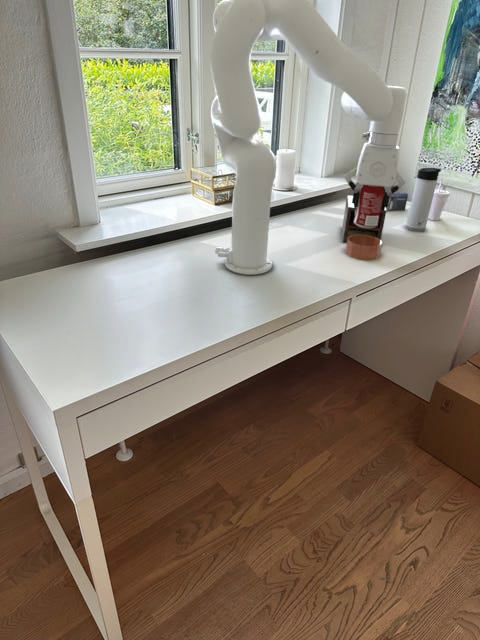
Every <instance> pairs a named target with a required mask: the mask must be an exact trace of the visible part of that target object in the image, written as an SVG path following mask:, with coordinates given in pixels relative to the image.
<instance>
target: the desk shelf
mask: <svg viewBox="0 0 480 640" xmlns="http://www.w3.org/2000/svg"><path fill="white" fill-rule="evenodd" d="M352 199H353V195H348V194H347V195H346V201H345V208H344V214H343V219H342V229H341V230H342V233H341V235H342V243H346V244H347V238H348V234H349V231H358V232H368V233H369V232H370V233H373V237H377V238H378V239H380V240H381V241H382V235H383V231H384V225H385V220H386V214H387V211H386V207H385V210H384V211H383V210H382V209H381V213H380V218H379V223H378V226H376V227H374V228H369V229H368V228H361V227H359V226H357V225H356V224H355V223H354V217H355V211H356V208H354V204H353V203H352Z"/></svg>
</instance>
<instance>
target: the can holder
mask: <svg viewBox="0 0 480 640" xmlns="http://www.w3.org/2000/svg"><path fill="white" fill-rule="evenodd" d="M345 245H346V246H345V254H346V255H348V256H349V257H350V258H354V259H358V260H364V261H370V260H377V259H378V258H380V257H381V252H382V247H383V241H382V239H381V240H380V239H378V238H377V237H374V235H370V234H362V233H359V234H352V235H350V236H347V240H346V244H345Z"/></svg>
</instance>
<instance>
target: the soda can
mask: <svg viewBox="0 0 480 640" xmlns="http://www.w3.org/2000/svg"><path fill="white" fill-rule="evenodd" d="M385 192H386V190H385V187H382V186H377V185H362V187H361V188H360V189H359V199H358V204H357V207H356V211H355V217H354V223H355V224H356V225H357V226H359V227H361V228H368V229H369V228H374V227H376V226H378V223H379V218H380V213H381V209H382V204H383V199H384V195H385Z"/></svg>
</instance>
